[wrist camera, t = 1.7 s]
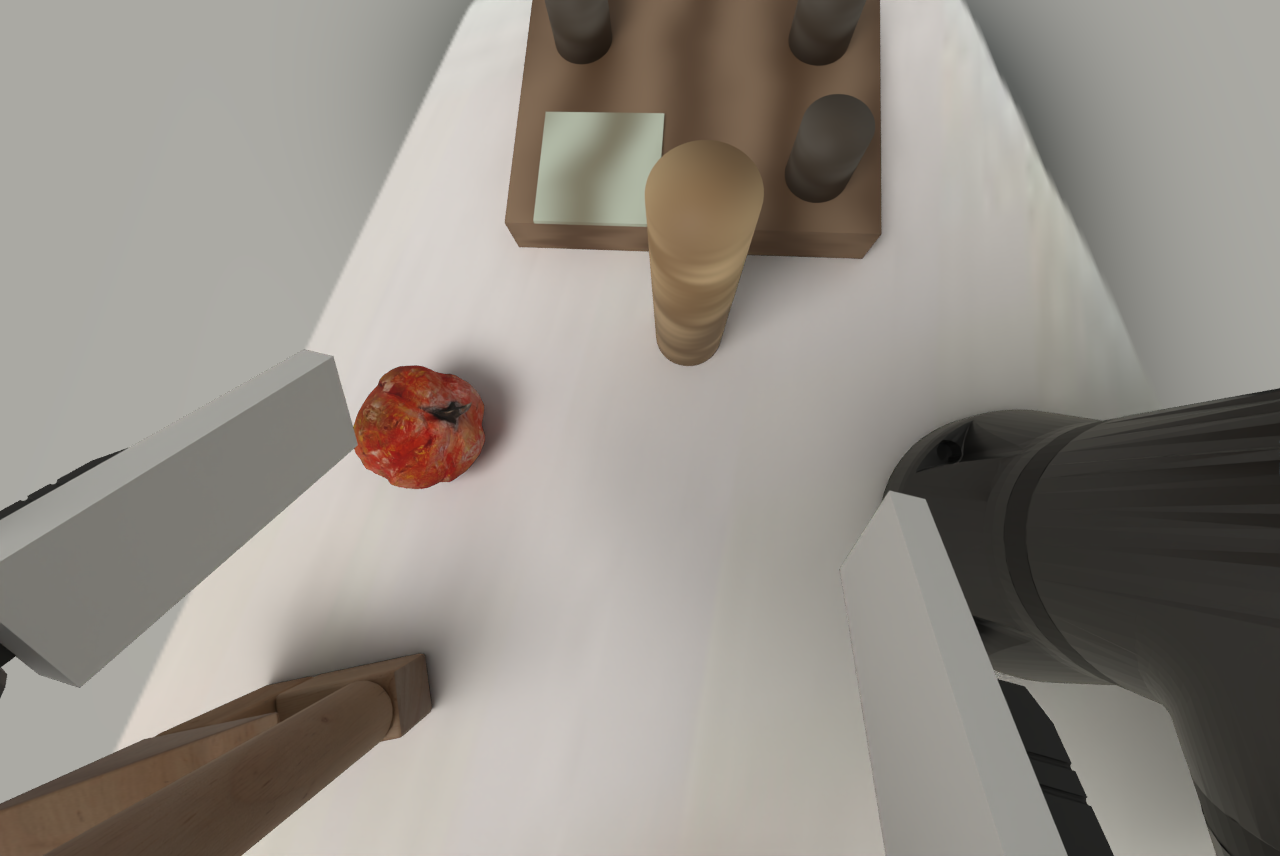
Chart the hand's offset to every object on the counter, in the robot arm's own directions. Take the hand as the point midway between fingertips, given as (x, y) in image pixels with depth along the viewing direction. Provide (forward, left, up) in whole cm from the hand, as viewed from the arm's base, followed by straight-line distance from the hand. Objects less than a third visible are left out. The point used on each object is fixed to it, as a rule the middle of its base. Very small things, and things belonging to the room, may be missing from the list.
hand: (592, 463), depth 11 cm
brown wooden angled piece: (+18, +14, -20) cm, 30 cm away
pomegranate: (+14, -3, -20) cm, 24 cm away
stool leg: (-2, -11, -20) cm, 23 cm away
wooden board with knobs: (-2, -26, -20) cm, 32 cm away
